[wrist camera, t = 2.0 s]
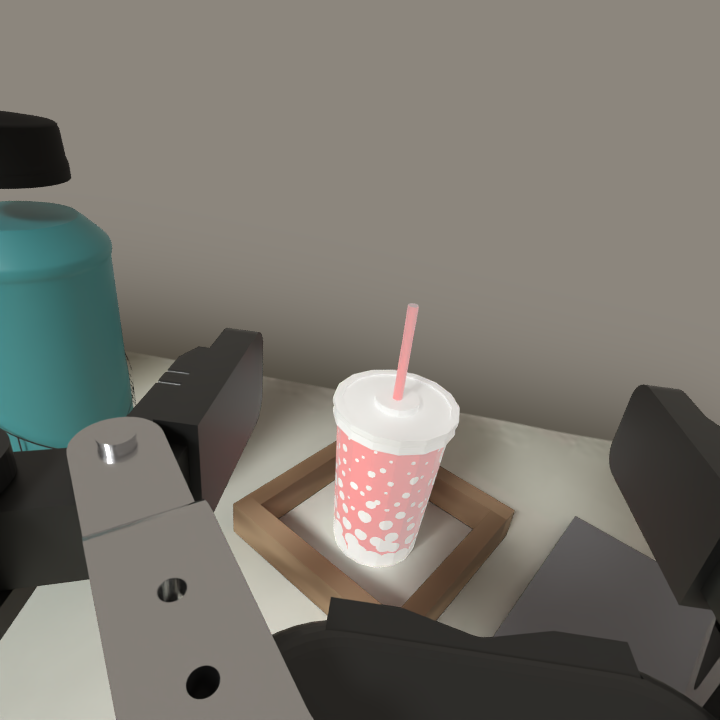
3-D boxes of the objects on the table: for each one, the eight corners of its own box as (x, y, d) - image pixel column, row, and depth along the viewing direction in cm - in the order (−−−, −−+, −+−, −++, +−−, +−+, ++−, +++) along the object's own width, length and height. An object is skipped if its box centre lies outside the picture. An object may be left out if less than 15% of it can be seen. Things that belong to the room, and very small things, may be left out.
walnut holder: (233, 530, 28) (233, 504, 27) (363, 445, 36) (366, 422, 35) (392, 673, 22) (399, 645, 21) (506, 535, 30) (514, 510, 29)
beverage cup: (408, 598, 26) (467, 352, 19) (300, 551, 27) (318, 311, 21) (440, 517, 31) (495, 300, 24) (346, 482, 33) (373, 270, 26)
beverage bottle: (175, 505, 29) (141, 120, 20) (86, 602, 24) (-23, 130, 14) (81, 471, 31) (7, 99, 21) (-24, 555, 25) (-191, 99, 16)
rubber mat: (487, 648, 24) (490, 641, 24) (572, 523, 32) (575, 516, 31) (765, 863, 18) (774, 857, 18) (787, 645, 26) (793, 638, 25)
